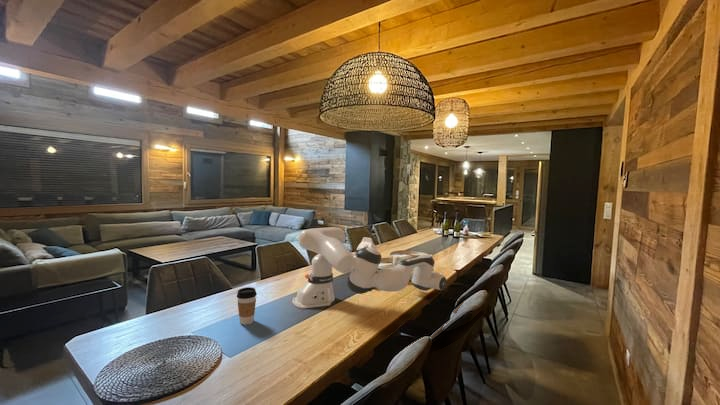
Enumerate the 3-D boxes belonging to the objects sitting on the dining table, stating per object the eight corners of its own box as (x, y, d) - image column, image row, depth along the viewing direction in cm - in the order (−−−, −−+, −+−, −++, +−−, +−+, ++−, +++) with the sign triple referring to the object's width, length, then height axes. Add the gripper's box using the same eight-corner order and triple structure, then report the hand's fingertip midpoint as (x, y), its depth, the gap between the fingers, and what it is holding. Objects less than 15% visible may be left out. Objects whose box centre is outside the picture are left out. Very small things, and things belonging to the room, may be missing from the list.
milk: (378, 274, 208) (379, 237, 207) (369, 279, 199) (370, 240, 197) (363, 271, 215) (364, 235, 213) (354, 275, 205) (355, 238, 203)
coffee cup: (235, 327, 131) (235, 293, 130) (238, 318, 139) (237, 286, 138) (256, 325, 133) (256, 292, 132) (257, 316, 141) (257, 285, 140)
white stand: (394, 280, 189) (394, 259, 188) (385, 276, 197) (386, 256, 196) (405, 278, 194) (405, 258, 193) (396, 274, 202) (397, 255, 201)
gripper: (408, 283, 169) (393, 276, 181) (435, 278, 179) (419, 271, 191) (409, 272, 168) (393, 266, 180) (435, 267, 179) (419, 262, 191)
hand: (407, 269), depth 186 cm, fingers open, 8 cm apart
